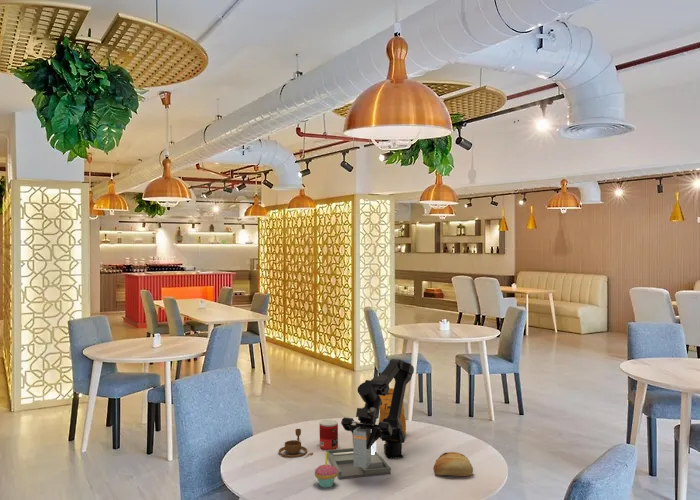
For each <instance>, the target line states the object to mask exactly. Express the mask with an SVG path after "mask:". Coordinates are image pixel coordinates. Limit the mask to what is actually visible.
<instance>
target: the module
mask: <svg viewBox="0 0 700 500" xmlns="http://www.w3.org/2000/svg"><path fill="white" fill-rule="evenodd" d="M371 430H372V429H371V428H367V427H362V426H360V427H357V428H356V429H355V430H354V431H353V435H352V448H353V465H354V466H355V467H361V468H367V467H368V466H369V465H370V464H371V447H370V448H369V449H367V445H368V442H369V438H370V435H371Z"/></svg>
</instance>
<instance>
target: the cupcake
mask: <svg viewBox="0 0 700 500" xmlns="http://www.w3.org/2000/svg"><path fill="white" fill-rule="evenodd" d="M324 454H325V456H324V457H325V458H324V459H325V464H321V465H319V466H317V467H316V468H315V470H314V476H315V478H316V479H317V481H318V485H319V487H322V488H331V487H332V486H333V485H334V482H335V479H336V477H337V478H338V476H337V475H338V470H337V469H336V467H334V466H332V465H331V464H328V458H327V452H326V451H325V453H324Z"/></svg>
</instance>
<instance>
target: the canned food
mask: <svg viewBox="0 0 700 500" xmlns="http://www.w3.org/2000/svg"><path fill="white" fill-rule="evenodd" d="M338 446H339V423H338V421H337V420H334V419H324V420H321V421H319V448H320V450H322V451H326V450H334V449H338Z"/></svg>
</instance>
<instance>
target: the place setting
mask: <svg viewBox="0 0 700 500" xmlns="http://www.w3.org/2000/svg"><path fill="white" fill-rule="evenodd" d="M301 435H302V429H301V428H296V429H295V436H296V437H297V438H296V440H295V439H294V440H293V439H292V440H287V441H285V442H284V446H283V447H281V448H279V449H278V454H279V456H280V457H284V458H287V459H295V458H301V457H303V456H305V457H304V459H306V458H308V457H312V456H313V455H314V452H310V453H308V454H307V452H308V448H307V447H305V446H302V441H301V440H300V436H301ZM284 451H285V452H287V454H284V453H282V452H284ZM300 451H304V452H303V453H299V452H300ZM298 453H299V454H298Z"/></svg>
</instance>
